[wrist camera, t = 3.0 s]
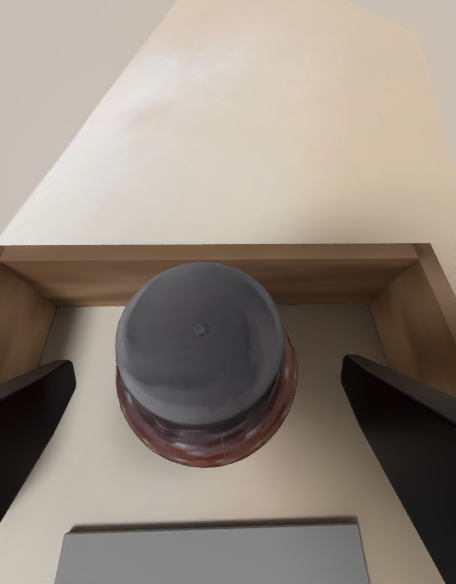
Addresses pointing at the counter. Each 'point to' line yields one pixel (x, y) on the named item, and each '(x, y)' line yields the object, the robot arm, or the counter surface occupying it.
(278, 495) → the counter surface
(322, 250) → the open wooden enclosure
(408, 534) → the counter surface
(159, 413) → the supplement bottle
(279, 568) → the mat
